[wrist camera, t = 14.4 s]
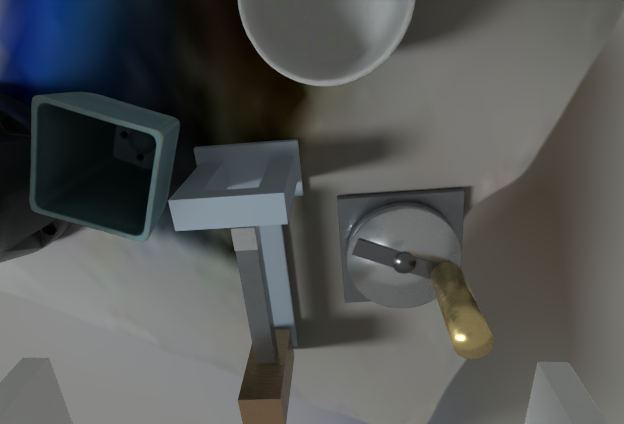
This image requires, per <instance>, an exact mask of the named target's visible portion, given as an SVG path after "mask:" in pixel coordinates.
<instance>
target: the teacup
mask: <svg viewBox="0 0 624 424" xmlns="http://www.w3.org/2000/svg"><path fill="white" fill-rule="evenodd" d="M415 1H416V0H238V7H239V12H240V16H241V20H242V23H243V26H244V29H245V31H246V33H247V36H248V37H249V39H250V41H251V42H252V44H253V46H254V47H255V49H256V50H257V52H258V53H259V54H260V55H261V57H262V58H263V59H264V60H265V61H266V62H267V63H268V64H269V65H270V66H271V67H272V68H274V69H275V70H276V71H278V72H279V73H281V74H283V75H284V76H286V77H288V78H290V79H292V80H295V81H297V82H300V83H304V84H308V85H313V86H337V85H342V84H346V83H349V82H352V81H354V80H357V79H360V78H361V77H363V76H364V75H367V74H368V73H370V72H372V71H373V70H374V69H376V68H377V67H379V66H380V65H381V64H382V63H383V62H385V61H386V60H387V59H388V58H389V57H390V56H391V54H392V53H393V52H394V50H395V49H396V48H397V46H398V45H399V43H400V42H401V40H402V39H403V37H404V35H405V34H406V32H407V29H408V27H409V25H410V22H411V19H412V15H413V12H414V6H415Z"/></svg>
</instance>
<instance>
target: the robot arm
mask: <svg viewBox="0 0 624 424" xmlns="http://www.w3.org/2000/svg"><path fill="white" fill-rule="evenodd" d="M30 175H31V107H30V106H28V105H26V104H25V103H23V102H21V101H19V100H17V99H15V98H13V97H11V96H8V95H6V94H3V93H0V262H4V261H7V260H11V259H14V258H17V257H21V256H24V255H28V254H31V253H34V252H36V251H38V250H40V249H42V248H44V247H46V246H47V245H49V244H50V243H52V242H53V241H54V240H55V239H57V238H58V237H59V236H60V235H61V234H63V233H64V232H65V231H66V230H67V229H68V228H69V227H70V226H71V224H72V222H68V221H65V220H61V219H58V218H54V217H50V216H46V215H42V214H39V213H36V212H34V211H33V210H32V209H31V206H30V202H29V195H30ZM0 424H73V423H72V421H71V418H70V415H69V412H68V409H67V407H66V404H65V401H64V398H63V396H62V393H61V390H60V387H59V384H58V381H57V379H56V376H55V373H54V371H53V368H52V365H51V362H50V359H49V358H22V359H21V360H20V361H19V363H18V364H17V365H16V366H15V367H14V368H13V369H12V370H11V371H10V372H9V373H8V375H7V376H6V377H5V378H4V379H3V380H2V381H1V382H0ZM525 424H608V423H607V421H606V420H605V418H604V417H603V415H602V413H601V412H600V410H599V409H598V407H597V406H596V404H595V403H594V401H593V399H592V398H591V396H590V395H589V393H588V392H587V390H586V389H585V387H584V386H583V384H582V382H581V381H580V379H579V378H578V376H577V375H576V373H575V372H574V370H573V369H572V367H571V365H570V364H569V363H568V362H538V363H537V368H536V372H535V377H534V382H533V387H532V391H531V396H530V401H529V406H528V410H527V415H526V420H525Z"/></svg>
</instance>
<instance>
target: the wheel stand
mask: <svg viewBox="0 0 624 424" xmlns="http://www.w3.org/2000/svg"><path fill="white" fill-rule="evenodd" d="M464 194H465V191H464V190H463V188H452V189H437V190H422V191H407V192H392V193H376V194H361V195H346V196H337V202H338V216H339V229H340V243H341V256H342V270H343V283H344V297H345V302H366V301H371V300H369V299H368V298H366V297H365V296H364V295H363V294H362V293H360V292H359V290H358V289H357V288H356V287H355V285H354V284H353V282H352V280H351V278H350V276H349V272H348V267H347V245H348V241H349V238H350V235H351V233H352V231H353V230H354V228H355V227H356V225H357V224H358V223H359V222H360V221H361V220H362V219H363V218H364V217H365V216H366V215H367V214H369V213H371V212H372V211H374V210H376V209H378V208H380V207H382V206H385V205H389V204H393V203H401V202H409V203H417V204H421V205H424V206H427V207H429V208H432V209H433V210H435V211H437V212H438V213H440V214H441V215H442V216H443V217H444V218H445V219H446V220H447V221H448V222H449V224H450V225H451V227H452V229H453V230H454V232H455V234H456V236H457V238H458V240H459V243H460V246H461V252H462V234H463V214H464ZM460 269H461V267H460Z"/></svg>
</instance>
